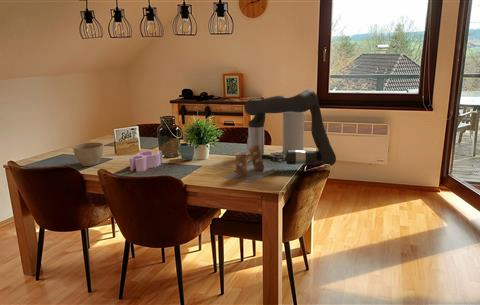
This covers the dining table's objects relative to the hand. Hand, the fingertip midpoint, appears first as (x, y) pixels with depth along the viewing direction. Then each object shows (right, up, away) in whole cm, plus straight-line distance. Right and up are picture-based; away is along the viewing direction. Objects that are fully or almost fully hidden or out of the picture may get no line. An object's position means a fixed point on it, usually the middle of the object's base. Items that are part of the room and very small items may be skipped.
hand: (261, 157), depth 201 cm
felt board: (-6, -9, -3) cm, 11 cm away
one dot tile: (-10, -10, -9) cm, 17 cm away
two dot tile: (-1, -6, +2) cm, 7 cm away
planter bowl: (-96, -5, +23) cm, 99 cm away
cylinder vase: (+21, +2, +39) cm, 44 cm away
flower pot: (-42, -2, +29) cm, 51 cm away
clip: (-63, -6, +16) cm, 65 cm away
